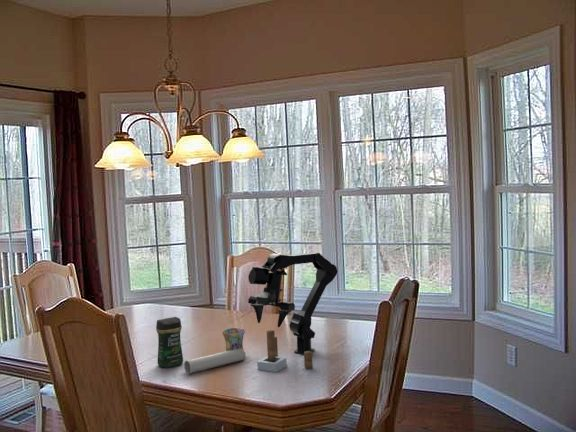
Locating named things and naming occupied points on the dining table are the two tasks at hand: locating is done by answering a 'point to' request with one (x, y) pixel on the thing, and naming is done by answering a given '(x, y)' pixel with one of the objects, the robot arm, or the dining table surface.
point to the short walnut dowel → (308, 360)
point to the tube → (213, 360)
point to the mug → (233, 338)
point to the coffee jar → (169, 342)
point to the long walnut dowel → (271, 346)
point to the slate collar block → (271, 364)
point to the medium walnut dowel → (276, 347)
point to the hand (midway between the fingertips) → (268, 325)
